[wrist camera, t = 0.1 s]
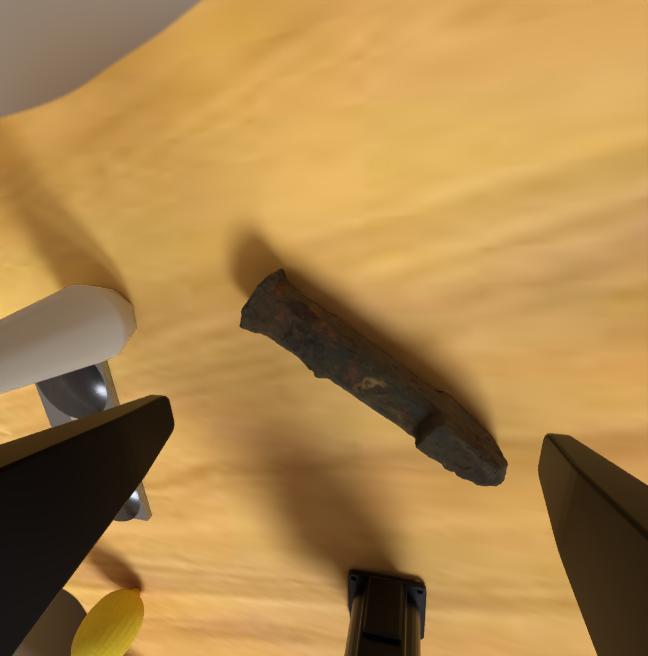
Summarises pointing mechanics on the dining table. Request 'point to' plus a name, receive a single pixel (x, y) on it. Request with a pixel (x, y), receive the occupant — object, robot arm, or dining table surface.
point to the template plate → (83, 400)
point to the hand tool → (374, 380)
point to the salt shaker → (63, 334)
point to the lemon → (110, 625)
